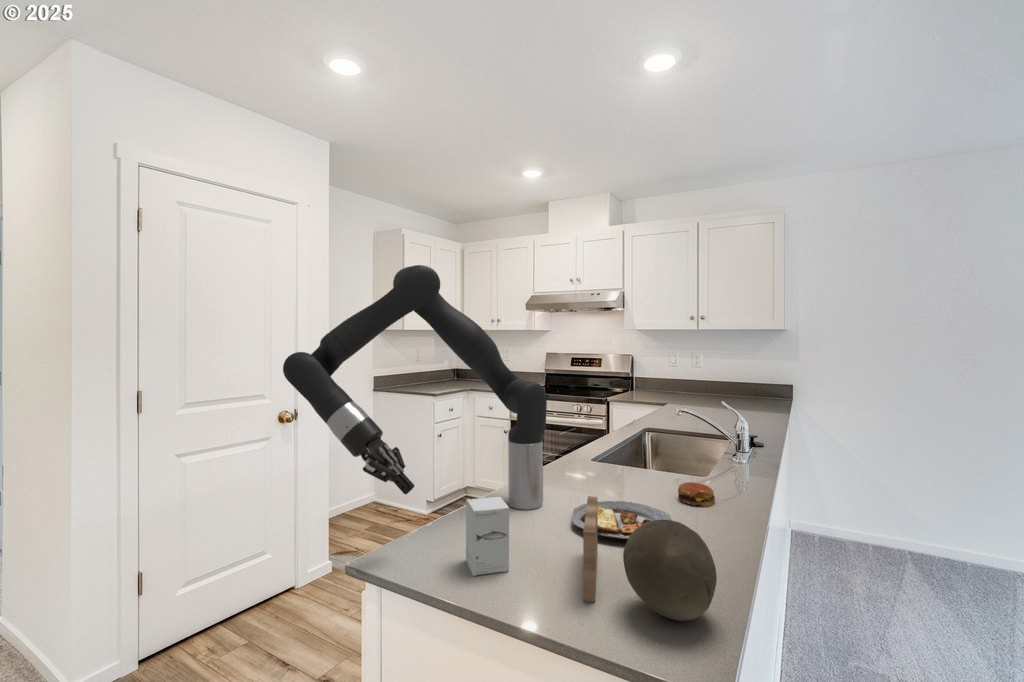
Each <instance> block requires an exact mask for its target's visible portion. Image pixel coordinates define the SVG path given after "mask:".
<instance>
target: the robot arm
mask: <svg viewBox="0 0 1024 682" xmlns="http://www.w3.org/2000/svg"><path fill="white" fill-rule="evenodd" d="M392 283H393V284H392V286H393V287H392V288H391V290H389V291H388V292H387V293H386V294H385V295H383V296H381V297H380V298H379V299H378V300H376V301H375V302H373V303H372V304H370V305H368V306H367V307H365V308H363V309H361V310H360V311H357V312H356V313H354V314H353V315H351V316H350V317H348V318H347V319H345V320H343V321H342V322H341V323H339V324H338V325H337V326H335V327H334V328H333V329H331V330H330V331H329V332H327V333H326V334H325V335H324V336H323V337H322V338H320V342H319V346H318V347H317V348H316V349H315V350H314V351H313V352H312V353H309V352H304V351H298V352H294V353H292V354H290V355H288V356H287V358H286V359H285V360H284V362H283V365H282V372H283V375H284V378H285V379H286V381H288V383H290V385H292V386H293V388H294V389H295V390H296V391H297V392H298V393H299V394H300V395H301V396H302V397H303V398H305V400H306V401H308V403H309V404H310V406H311V407H312V408H313V410H314V412H315V413H316V414H317V415H318V416H319V417H320V419H321V420H322V421H323V422H324V423H325V425H327V426H328V428H329V430H330V431H331V432H332V434H333V435H334V436H335V438H337V440H338V441H339V442H340V443H341V444H342V446H344V448H345V449H347V451H348V452H349V453H350V454H351V456H353V458H354V457H355V458H358V457H360V458H361V459H362V461H364V462H365V465H364V466H363V468H362V470H363V472H364V473H366V474H368V475H369V476H372V477H374V478H376V479H377V480H380V481H381V482H384V483H387V482H390V483H394V484H395V485H396V487H397V488H398V490H400V491H401V492H402V493H403V495H408V494H409V493H410V492H411V491H412V490H413V489H414V488H415V484H414V483H413V482H412V481H411V479H409V477H408V476H407V475H406V474H405V473H404V472H405V468H406V463H405V462H404V459H403V456H402V453H401V451H400V449H399V448H398V447H397V446H395V447H393V448H391V447H390V446H389V445H388V443H386V442H385V441H384V440H382V436H383V434H384V433H383V430H382V429H381V427H380V426H378V424H377V423H376V422H375V421H374V420H373V418H371V417H370V416H369V415H368V413H367V412H366V411H365V409H363V408H362V407H361V406H360V405H359V404H357V403H356V402H355V401H354V400H353V399H352V398H351V396H350V395H349V394H348V393H347V392H346V391H345V390H344V389H343V388H342V387H341V386H339V385H338V383H336V382H335V380H334V378H333V377H332V375H333V374H334V373H335V372H336V371H337V370H338V369H339V368H340V367H341V365H342V364H343V363H344V362H345V361H347V360H348V359H350V358H351V357H352V356H354V355H355V354H357V353H358V351H360V350H361V349H363V348H364V347H365V346H367V345H368V344H369V343H370V342H371V341H373V340H374V339H375V338H376V337H378V336H379V335H380V334H381V333H383V332H384V331H385V330H386V329H388V328H389V327H390V326H392V325H394V324H395V323H396V322H397V321H399V320H401V319H402V318H403V317H406V316H407V315H408V314H410V313H412V312H414V313H416V314H417V315H418V316H419V317H420V318H421V319H423V321H425V322H426V323H427V324H428V325H429V326H430V327H431V328H432V329H433V331H434V332H435V333H436V334H437V335H438V336H439V338H440V339H441V340H442V341H443V342H444V343H445V344H446V345H447V347H449V348H450V349H451V351H452V352H453V353H454V354H455V355H456V356H457V357H458V358H459V359H460V360H461V361H462V362H463V363H464V364H465V365H466V366H467V367H468V368H470V369H471V370H472V371H473V372H474V373H475V374H476V376H478V377H479V378H480V379H481V380H482V381H483V382H484V383H486V384H487V386H488V387H489V388H490V389H491V390H492V391H493V393H494V394H495V396H496V397H497V398H498V399H499V401H501V403H502V404H503V406H505V408H506V409H507V410H508V411H510V413H513V414H516V422H515V423H516V424H515V426H514V427H512V428H511V429H509V430H508V435H507V436H508V437H507V438H508V439H507V440H508V441H507V442H508V448H507V449H508V452H507V453H508V491H507V493H508V505H509V506H508V507H512V508H513V509H516V510H524V511H525V510H526V511H527V510H536V509H538V508H540V507H542V506H543V502H544V466H543V465H544V464H543V463H544V460H543V458H544V457H543V456H544V455H543V451H544V450H543V435H544V433H545V431H546V427H547V426H546V424H547V408H548V407H547V406H548V404H547V394H546V390H545V388H544V387H543V386H542V384H540V383H538V382H535V381H529V380H523V379H521V378H519V377H518V376H517V375H516V374H515V373H514V372H513V371H511V370H510V369H509V368H508V367H507V365H506V363H505V362H504V361H503V358H502V356H501V354H500V351H499V349H498V346H497V345H496V343H495V341H494V340H493V339H492V338H491V337H490V335H489V334H488V333H487V332H485V330H484V329H483V328H482V327H481V326H480V325H479V324H478V323H477V322H475V321H474V320H473V319H472V318H470V317H469V316H468V315H466V314H464V313H463V312H461V311H460V310H459V309H457V308H455V307H454V306H453V305H451V304H450V303H449V302H448V301H447V300H446V299H445V298H444V297H443V295H441V293H440V291H441V290H440V289H441V279H440V276H439V274H438V272H436V270H435V269H433V268H431V267H430V266H428V265H423V264H422V265H421V264H417V265H410V266H406V267H403V268H402V269H400V270H399V271H397V272H396V274H395V275H394V278H393V281H392Z"/></svg>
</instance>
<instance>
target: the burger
mask: <svg viewBox="0 0 1024 682" xmlns="http://www.w3.org/2000/svg"><path fill="white" fill-rule="evenodd" d="M677 493H678V494H677V495H678V496H677V497H678V498H679V500H681V501H682V502H683V503H686V504H687V505H692V506H693V507H694V506H700V507H702V508H707V507H711V506H713V505H714V504H715V500H716V496H715V493H714V490H713V489H712V487H710V486H708V485H706V484H703V483H700V482H684V483H681V484H680V485H679V486H678V489H677Z"/></svg>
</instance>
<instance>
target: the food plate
mask: <svg viewBox="0 0 1024 682" xmlns="http://www.w3.org/2000/svg"><path fill="white" fill-rule="evenodd" d="M586 507H587V503H583V504H580V505H578V506H577V507H575V508H574V509H573V513H572V517H571V523H572V524H573V525H574V527H576V528H578V529H580V530H582V531H584V523H585V515H586ZM615 514H620V516H621V520H618V518H617V516H616V515H615ZM638 517H640V518H644V519H643V520H642V521H639V520H637V518H638ZM653 520H672V518H671V515H670V514H669V513H667V512H666V511H664V510H661V509H657V508H655V507H653V506H649V505H647V504H643V503H639V502H637V503H636V502H632V501H625V500H622V501H621V500H604V501H602V500H601V501H598V532H597V537H598V536H599V537H601V538H604V537H605V538H612V539H613V538H614V539H620V540H626V541H628V538H629V536H630V535H631V534H632V533H633V531H634V530H635V529H637V528H638V527H639V526H641V525H643V524H644V523H646V522H648V521H653Z"/></svg>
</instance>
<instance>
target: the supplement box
mask: <svg viewBox="0 0 1024 682" xmlns="http://www.w3.org/2000/svg"><path fill="white" fill-rule="evenodd" d="M465 561H466V563H467V567H468V569H469V570H470V573H471V575H472V577H475V576H480V575H487V574H495V573H497V574H498V573H507V572H510V506H508V504H507V503H506V502H505V501H504V500H503V498H502V497H501V496H495V497H494V496H493V497H481V498H471V499H469V498H468V499H465Z"/></svg>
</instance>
